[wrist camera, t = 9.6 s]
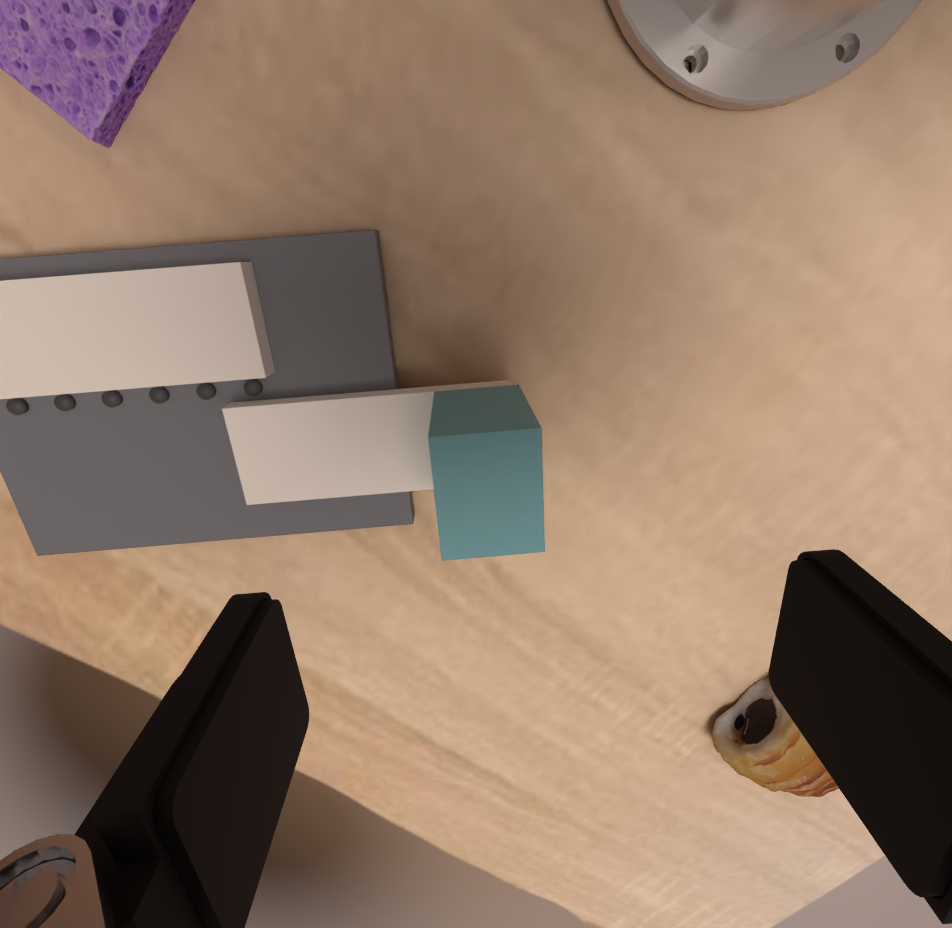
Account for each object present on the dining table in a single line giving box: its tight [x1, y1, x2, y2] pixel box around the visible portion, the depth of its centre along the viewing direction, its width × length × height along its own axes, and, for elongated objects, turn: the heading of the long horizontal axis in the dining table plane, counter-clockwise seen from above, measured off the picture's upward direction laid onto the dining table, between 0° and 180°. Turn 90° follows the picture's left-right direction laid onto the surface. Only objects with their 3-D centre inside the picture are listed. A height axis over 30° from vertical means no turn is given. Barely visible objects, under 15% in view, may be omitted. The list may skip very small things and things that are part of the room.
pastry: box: [712, 676, 839, 797], centre depth 31 cm, size 9×7×4 cm
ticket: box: [0, 262, 275, 415], centre depth 21 cm, size 12×5×1 cm, turn 94°
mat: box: [0, 230, 415, 556], centre depth 23 cm, size 18×13×1 cm
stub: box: [222, 380, 545, 561], centre depth 20 cm, size 12×4×7 cm, turn 94°
